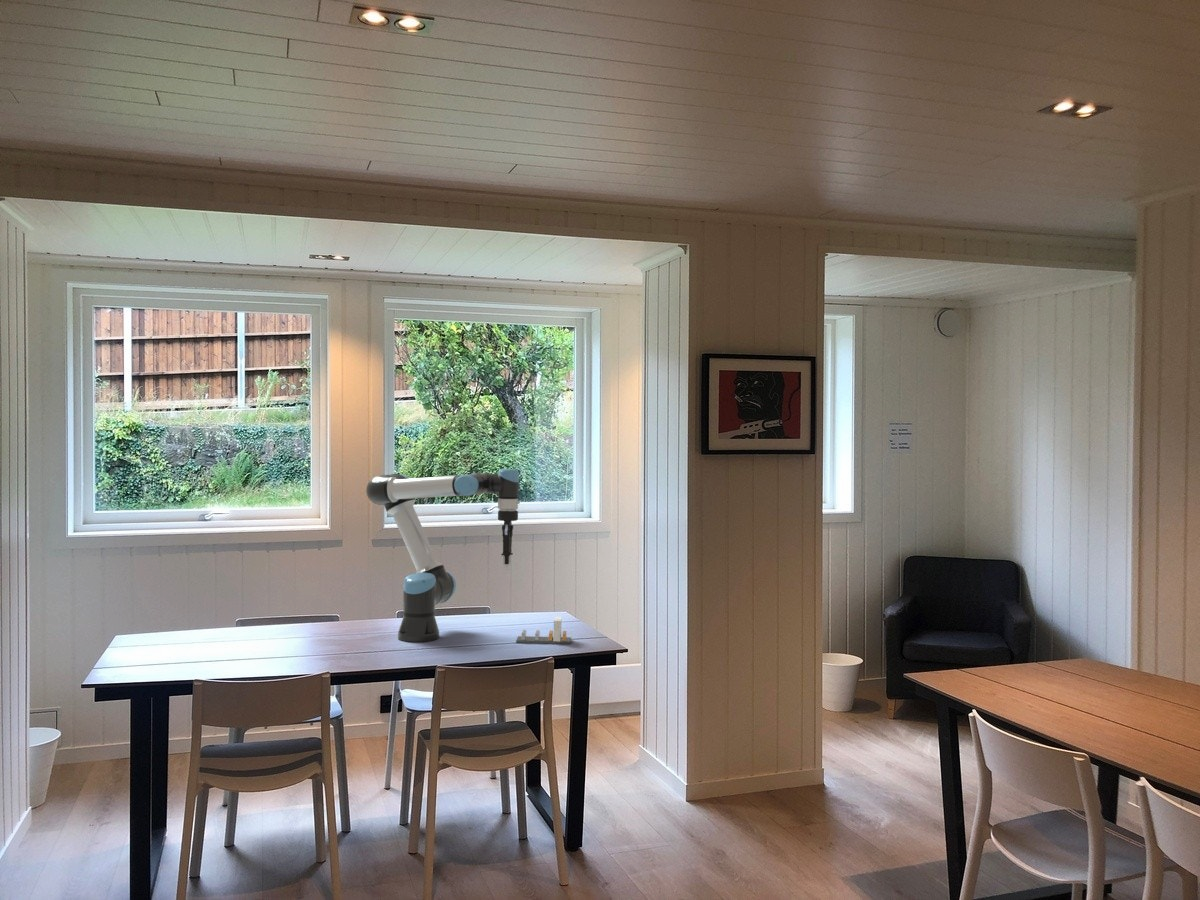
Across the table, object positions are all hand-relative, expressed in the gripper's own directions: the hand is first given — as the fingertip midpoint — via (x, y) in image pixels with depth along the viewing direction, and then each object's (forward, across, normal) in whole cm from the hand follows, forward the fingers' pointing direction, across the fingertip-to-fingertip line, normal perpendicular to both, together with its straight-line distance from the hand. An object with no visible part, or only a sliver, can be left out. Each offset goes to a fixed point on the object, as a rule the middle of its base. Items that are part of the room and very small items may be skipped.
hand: (506, 572), depth 354 cm
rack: (+24, -6, -15) cm, 29 cm away
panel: (+23, -6, -20) cm, 31 cm away
